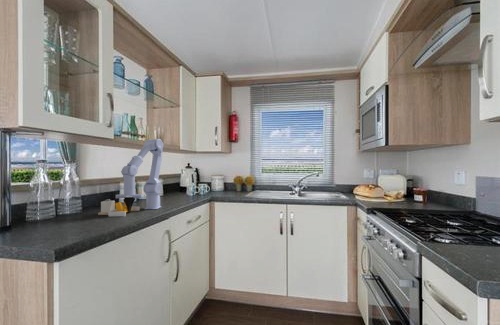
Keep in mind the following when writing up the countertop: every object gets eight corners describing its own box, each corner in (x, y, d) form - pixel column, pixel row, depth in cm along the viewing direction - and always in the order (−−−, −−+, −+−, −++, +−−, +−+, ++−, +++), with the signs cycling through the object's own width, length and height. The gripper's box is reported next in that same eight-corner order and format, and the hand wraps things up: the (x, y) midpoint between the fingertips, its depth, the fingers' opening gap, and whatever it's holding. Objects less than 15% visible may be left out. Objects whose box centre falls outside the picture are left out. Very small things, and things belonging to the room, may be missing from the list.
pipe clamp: (125, 211, 146) (122, 201, 146) (132, 209, 146) (129, 199, 146) (114, 215, 134) (111, 204, 134) (122, 213, 134) (119, 202, 134)
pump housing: (105, 212, 144) (105, 198, 145) (117, 212, 144) (117, 198, 145) (98, 214, 137) (98, 200, 138) (110, 214, 137) (110, 200, 138)
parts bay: (124, 210, 150) (124, 206, 150) (139, 210, 150) (139, 206, 150) (108, 216, 132) (108, 211, 132) (125, 216, 132) (125, 211, 132)
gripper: (112, 187, 137) (112, 212, 137) (139, 187, 137) (139, 211, 137) (119, 186, 144) (119, 210, 144) (144, 186, 144) (144, 209, 144)
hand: (129, 210), depth 141 cm, fingers closed
